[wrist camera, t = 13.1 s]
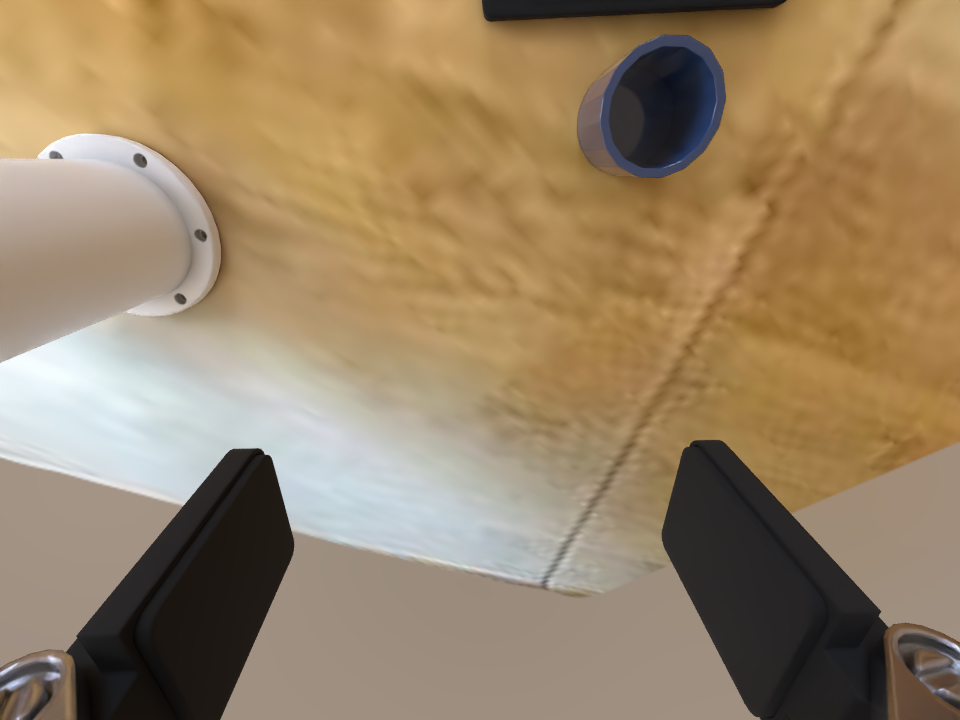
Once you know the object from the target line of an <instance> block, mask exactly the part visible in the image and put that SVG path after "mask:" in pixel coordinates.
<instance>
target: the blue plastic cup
mask: <svg viewBox="0 0 960 720" xmlns="http://www.w3.org/2000/svg"><path fill="white" fill-rule="evenodd" d="M725 98H726V93H725V83H724V74H723V70H722V68H721V66H720V65H719V63H718V61H717V59H716V58H715V56H714V54H713V52H712V51H711V49H710V48H709V47H707V46H705V45H704V44H702V43H700V42H699V41H697V40H696V39H694V38H692V37H691V36H688V35H661V36H659V37H657V38H654V39H652V40H650V41H648V42H645V43H643V44H641V45H638V46H637V47H636V48H634V49H633V50H632V51H630V52H629V53H628V54H626V55H625V56H624V57H622V58H621V59H620V60H618V61H617V62H616V63H614V64H613V65H612V66H610V67H609V68H608V69H607V70H606V71H605V72H604V73H603V74H601V75H600V76H599V77H598V78H597V79H596V80H595V81H594V83H593V84H592V85H591V86H590V88H589V89H588V91H587V93H586V95H585V96H584V98H583V101H582V103H581V106H580V110H579V114H578V121H577V133H578V139H579V143H580V146H581V149H582V151H583V153H584V155H585V156H586V158H587V159H588V161H589V162H590V163H591V164H592V165H593V166H594V167H596V168H597V169H599V170H600V171H602V172H605V173H608V174H610V175H615V176H628V177H643V178H662V177H665V176H667V175H670V174H673V173H675V172H678V171H680V170H683V169H684V168H686V167H687V166H688V165H689V164H690V163H692V162H693V161H694V160H695V159H696V158H697V157H698V156H700V155H701V154H702V153H703V152H704V151H705V150H706V148H707V146H708V145H709V143H710V141H711V140H712V138H713V136H714V135H715V133H716V131H717V130H718V128H719V126H720V122H721V118H722V114H723V110H724V105H725V101H726V99H725Z"/></svg>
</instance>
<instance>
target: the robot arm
mask: <svg viewBox="0 0 960 720" xmlns="http://www.w3.org/2000/svg"><path fill="white" fill-rule="evenodd" d="M205 233H206V234H205ZM206 235H207V236H206ZM220 264H221V244H220V239H219V233H218V229H217V226H216V224H215V221H214V218H213V216H212V213H211V211H210V209H209V207H208V206H207V204H206V202H205V200H204V199H203V197H202V195H201V194H200V193H199V191H198V190H197V189H196V187H195V186H194V185H193V184H192V182H191V181H190V180H189V179H188V178H187V177H186V176H185V175H184V174H183V173H182V172H181V171H180V170H179V169H178V168H177V167H176V166H175V165H174V164H172V163H171V162H170V161H168V160H167V159H166V158H164V157H163V156H161V155H160V154H159V153H157V152H155V151H154V150H152V149H150V148H148V147H146V146H144V145H142V144H140V143H138V142H135V141H132V140H129V139H126V138H123V137H119V136H112V135H104V134H77V135H72V136H67V137H64V138H62V139H60V140H58V141H56V142H54V143H52V144H50V145H49V146H48V147H47V148H46V149H45V150H44V151H42V152H41V153H40V154H39V156H38V157H37V159H11V158H0V363H1V362H3V361H5V360H8V359H10V358H13V357H15V356H17V355H20V354H22V353H25V352H27V351H29V350H32V349H34V348H37V347H39V346H42V345H44V344H46V343H49V342H51V341H54V340H56V339H58V338H61V337H63V336H66V335H68V334H71V333H73V332H75V331H78V330H80V329H83V328H85V327H88V326H90V325H92V324H95V323H97V322H100V321H102V320H105V319H107V318H109V317H112V316H114V315H117V314H119V313H121V312H126V313H130V314H133V315H140V316H148V317H156V316H167V315H171V314H175V313H178V312H181V311H183V310H185V309H187V308H189V307H192V306H193V305H195V304H196V303H198V302H199V301H200V300H202V299H203V298H204V297H205V296H206V295H207V293H208V292H209V291H210V290H211V289H212V287H213V285H214V283H215V281H216V279H217V277H218V273H219V268H220ZM662 542H663V545H664V548H665V550H666V552H667V554H668V556H669V558H670V560H671V562H672V563H673V565H674V567H675V569H676V571H677V573H678V575H679V577H680V579H681V581H682V582H683V585H684V587H685V589H686V591H687V593H688V594H689V596H690V598H691V600H692V602H693V604H694V606H695V608H696V610H697V612H698V613H699V616H700V617H701V620H702V621H703V624H704V625H705V627H706V629H707V631H708V633H709V635H710V637H711V639H712V641H713V643H714V645H715V647H716V649H717V651H718V652H719V655H720V656H721V658H722V660H723V662H724V664H725V666H726V668H727V670H728V672H729V674H730V676H731V678H732V680H733V681H734V684H735V685H736V687H737V689H738V691H739V693H740V695H741V697H742V699H743V701H744V703H745V704H746V706H747V708H748V710H749V711H750V712H751V713H752V714H753V715H754V716H756V717H760V719H761V720H960V642H958V641H956V640H954V639H953V638H951V637H949V636H947V635H945V634H943V633H941V632H938V631H935V630H933V629H930V628H927V627H925V626H922V625H916V624H910V623H901V624H893V625H892V626H891V627H888V626H887V625H886V624H885V623H884V622H883V621H882V620H881V619H880V618H879V617H878V616H879V614H880V613H881V611H880V610H879V609H878V608H877V606H875V604H874V603H873V602H872V601H871V600H870V599H869V598H868V597H867V596H866V595H865V594H864V592H862V590H861V589H860V588H859V587H858V586H857V585H856V584H855V583H854V582H853V581H852V579H851V578H849V576H848V575H847V574H846V573H845V572H844V571H843V570H842V569H841V568H840V567H839V565H838V564H837V563H836V562H835V561H834V560H833V559H832V558H831V557H830V556H829V555H828V554H827V552H826V551H825V550H824V549H823V548H822V547H821V546H820V545H819V544H818V543H817V542H816V541H815V540H814V538H813V537H812V536H811V535H810V534H809V533H808V532H807V531H806V530H805V529H804V528H803V527H802V526H801V525H800V523H799V522H798V521H797V520H796V519H795V518H794V517H793V516H792V515H791V514H790V513H789V511H788V510H787V509H786V508H785V507H784V506H783V505H782V504H781V503H780V502H779V501H778V500H777V499H776V497H775V496H774V495H773V494H772V493H771V492H770V491H769V490H768V489H767V488H766V487H765V486H764V485H763V483H762V482H761V481H760V480H759V479H758V478H757V477H756V476H755V475H754V474H753V473H752V472H751V470H750V469H749V468H748V467H747V466H746V465H745V464H744V463H743V462H742V461H741V460H740V459H739V458H738V456H737V455H736V454H735V453H734V452H733V451H732V450H731V449H730V448H729V447H728V446H727V445H726V444H725V443H724V442H723V441H720V440H696V441H693V442H692V443H691V444H690V446H689V447H686V448H685V449H684V450H683V452H682V456H681V460H680V464H679V468H678V471H677V475H676V479H675V483H674V487H673V491H672V494H671V498H670V502H669V506H668V510H667V514H666V517H665V521H664V525H663V529H662ZM293 551H294V539H293V535H292V531H291V528H290V524H289V520H288V517H287V513H286V509H285V505H284V502H283V498H282V494H281V491H280V487H279V483H278V479H277V476H276V472H275V468H274V464H273V461H272V458H271V457H270V455H265V454H264V452H263V451H262V450H261V449H258V448H257V449H232V450H230V451H229V452H228V453H227V454H226V455H225V456H224V458H223V459H222V460H221V461H220V462H219V464H218V465H217V466H216V467H215V468H214V470H213V471H212V472H211V473H210V475H209V476H208V477H207V478H206V479H205V481H204V482H203V483H202V484H201V485H200V487H199V488H198V489H197V490H196V492H195V493H194V494H193V495H192V496H191V498H190V499H189V500H188V501H187V502H186V504H185V505H184V506H183V507H182V509H181V510H180V511H179V512H178V514H177V515H176V516H175V517H174V518H173V519H172V521H171V522H170V523H169V524H168V526H167V527H166V528H165V529H164V530H163V532H162V533H161V534H160V535H159V536H158V538H157V539H156V540H155V541H154V542H153V544H152V545H151V546H150V547H149V549H148V550H147V551H146V552H145V554H144V555H143V556H142V557H141V558H140V560H139V561H138V562H137V563H136V564H135V566H134V567H133V568H132V569H131V570H130V572H129V573H128V574H127V575H126V576H125V578H124V579H123V580H122V581H121V582H120V584H119V585H118V586H117V587H116V589H115V590H114V591H113V592H112V593H111V595H110V596H109V597H108V598H107V600H106V601H105V602H104V603H103V604H102V606H101V607H100V608H99V609H98V611H97V612H96V613H95V614H94V615H93V616H92V618H91V619H90V620H89V621H88V623H87V624H86V625H85V626H84V627H83V629H82V630H81V631H80V632H79V633H78V635H77V639H76V641H75V642H74V643H73V644H72V645H71V647H70V648H69V649H68V650H67V652H64V651H62V650H44V651H40V652H35V653H31V654H28V655H26V656H24V657H21V658H19V659H16V660H14V661H12V662H9V663H8V664H6V665H4V666H3V667H1V668H0V720H220V719H221V716H222V714H223V712H224V710H225V708H226V705H227V703H228V701H229V699H230V696H231V694H232V692H233V689H234V687H235V685H236V683H237V680H238V678H239V676H240V673H241V671H242V669H243V667H244V664H245V662H246V660H247V658H248V656H249V653H250V651H251V649H252V647H253V644H254V642H255V640H256V637H257V635H258V633H259V630H260V628H261V626H262V624H263V622H264V619H265V617H266V615H267V612H268V610H269V608H270V606H271V603H272V601H273V599H274V597H275V594H276V592H277V590H278V588H279V585H280V583H281V581H282V578H283V576H284V574H285V572H286V570H287V567H288V565H289V563H290V561H291V558H292V555H293Z"/></svg>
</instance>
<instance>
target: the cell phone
mask: <svg viewBox="0 0 960 720" xmlns="http://www.w3.org/2000/svg"><path fill="white" fill-rule="evenodd" d="M785 1H786V0H482V6H483V13H484V17H485V19H486V20H487V21H491V22H492V21H506V20H526V19H547V18H568V17H588V16H609V15H629V14H650V13H671V12H691V11H712V10H732V9H753V8H774V7H777V6H779V5H780V4H782V3H784V2H785Z"/></svg>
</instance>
